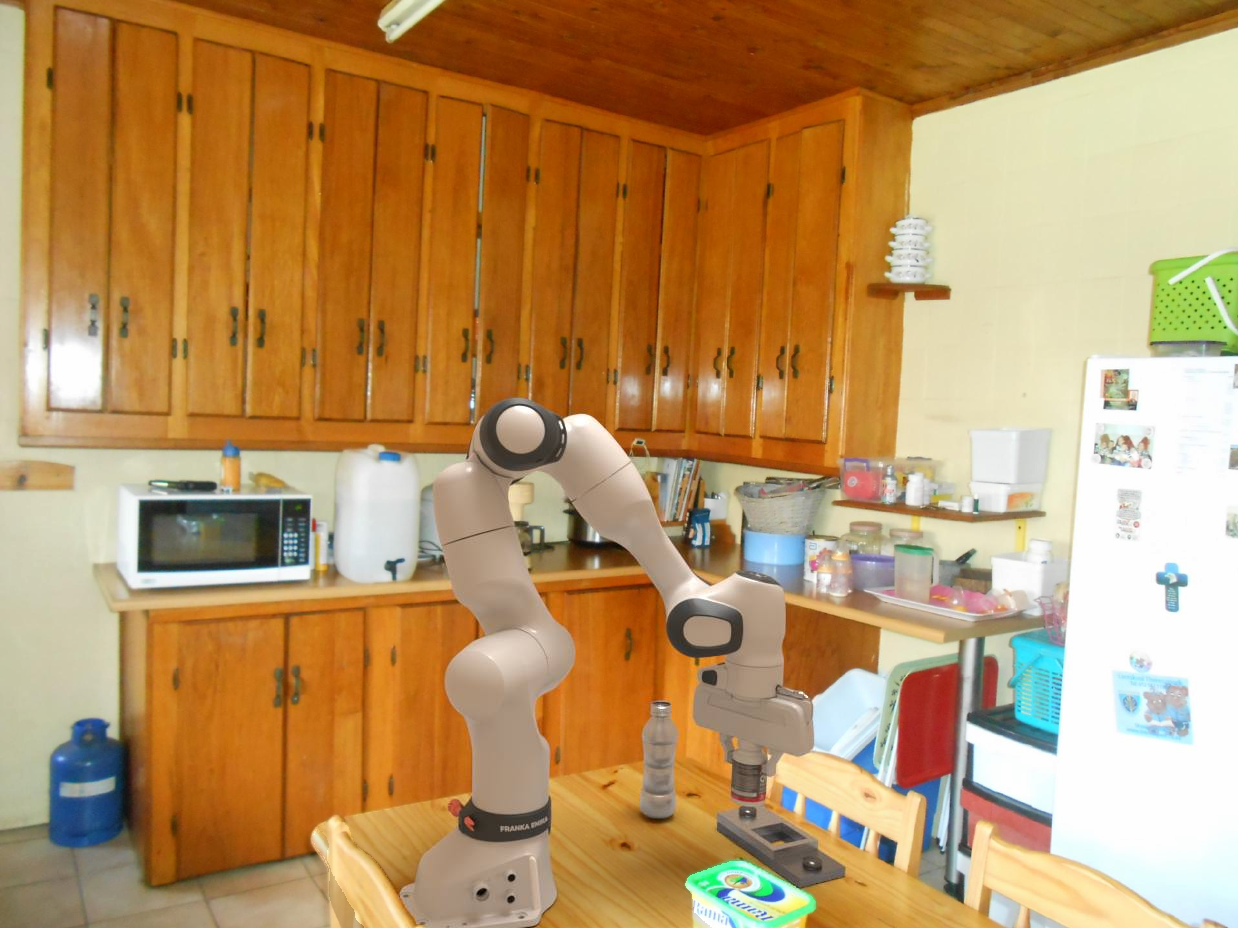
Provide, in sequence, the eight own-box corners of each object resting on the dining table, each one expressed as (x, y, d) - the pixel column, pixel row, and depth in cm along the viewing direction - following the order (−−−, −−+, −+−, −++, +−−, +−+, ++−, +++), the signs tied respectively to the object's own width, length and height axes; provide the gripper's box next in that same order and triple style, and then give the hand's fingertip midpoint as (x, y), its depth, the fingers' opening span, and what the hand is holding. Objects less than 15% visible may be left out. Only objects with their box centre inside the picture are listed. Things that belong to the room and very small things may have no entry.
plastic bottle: (682, 813, 166) (686, 702, 165) (663, 827, 160) (668, 711, 159) (651, 804, 169) (655, 695, 169) (631, 817, 164) (635, 704, 163)
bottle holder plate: (799, 888, 141) (800, 863, 140) (716, 829, 160) (717, 807, 160) (845, 876, 145) (846, 852, 145) (759, 820, 164) (760, 799, 164)
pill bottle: (767, 808, 140) (770, 744, 139) (731, 806, 140) (734, 742, 140) (764, 794, 145) (767, 732, 145) (729, 792, 146) (732, 730, 145)
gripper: (824, 690, 137) (820, 782, 138) (712, 662, 151) (709, 746, 152) (801, 698, 133) (797, 794, 133) (688, 668, 146) (685, 755, 147)
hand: (749, 768), depth 143 cm, fingers closed on pill bottle, 5 cm apart
